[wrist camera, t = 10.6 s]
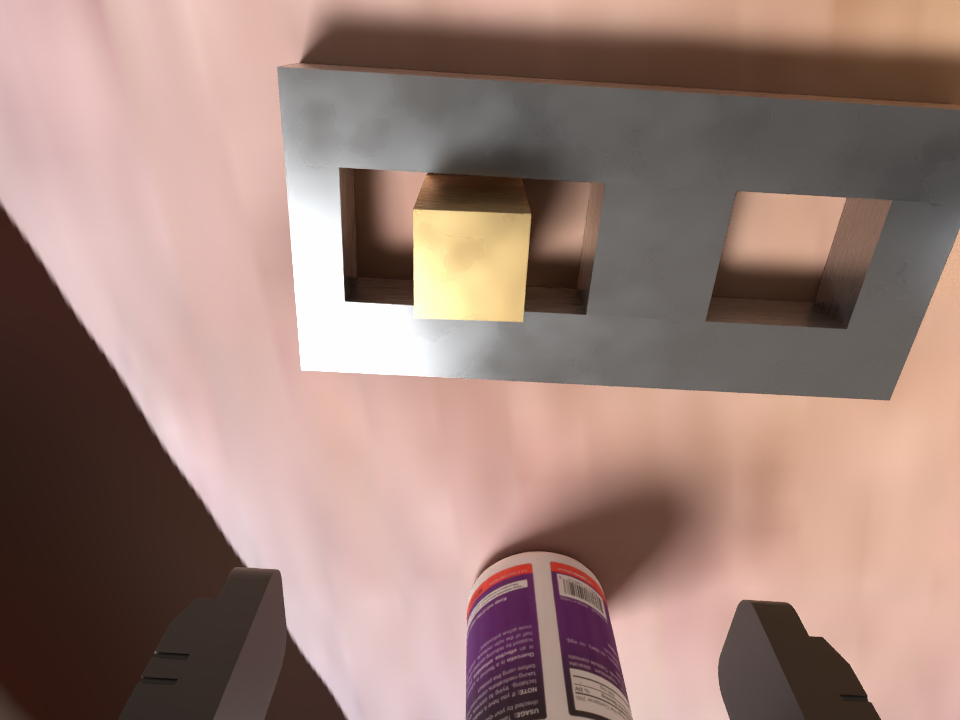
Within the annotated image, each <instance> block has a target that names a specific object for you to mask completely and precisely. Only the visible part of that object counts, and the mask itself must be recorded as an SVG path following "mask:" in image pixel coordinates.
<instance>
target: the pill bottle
mask: <svg viewBox="0 0 960 720" xmlns="http://www.w3.org/2000/svg"><path fill="white" fill-rule="evenodd" d="M466 720H633V718H632V714H631V710H630V705H629V701H628V696H627V692H626V688H625V683H624V679H623V674H622V670H621V666H620V661H619V657H618V652H617V648H616V643H615V639H614V635H613V630H612V626H611V622H610V617H609V613H608V608H607V603H606V600H605V596H604V592H603V590H602V587H601V585H600V583H599V581H598V580H597V578H596V577H595V575H594V574H593V573H592V572H591V571H590V570H589V569H588V568H586V567H585V566H584V565H583V564H581V563H580V562H578V561H576V560H575V559H573V558H570V557H568V556H565V555H561V554H557V553H552V552H540V551H537V552H525V553H520V554H516V555H512V556H509V557H507V558H504V559H502V560H500V561H498V562H496V563H495V564H493V565H492V566H490V567H489V568H488V569H486V570H485V571H484V572H483V573H482V574H481V575H480V576H479V578H478V579H477V580H476V582H475V583H474V585H473V587H472V589H471V592H470V595H469V598H468V605H467V660H466Z"/></svg>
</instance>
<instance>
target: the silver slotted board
mask: <svg viewBox="0 0 960 720" xmlns="http://www.w3.org/2000/svg"><path fill="white" fill-rule="evenodd" d="M277 70H278V83H279V95H280V108H281V120H282V133H283V146H284V158H285V171H286V183H287V196H288V208H289V221H290V233H291V246H292V258H293V271H294V283H295V296H296V309H297V321H298V334H299V346H300V359H301V370H313V371H332V372H351V373H371V374H390V375H409V376H428V377H448V378H467V379H486V380H506V381H525V382H544V383H564V384H583V385H602V386H622V387H641V388H660V389H680V390H699V391H718V392H737V393H757V394H776V395H795V396H815V397H834V398H853V399H873V400H890V398H891V396H892V393H893V391H894V388H895V386H896V384H897V381H898V379H899V376H900V374H901V371H902V369H903V366H904V364H905V361H906V359H907V357H908V354H909V352H910V349H911V347H912V344H913V342H914V339H915V337H916V335H917V332H918V330H919V327H920V325H921V322H922V320H923V317H924V315H925V313H926V310H927V308H928V305H929V303H930V300H931V298H932V295H933V293H934V291H935V288H936V286H937V283H938V281H939V278H940V276H941V273H942V271H943V269H944V266H945V264H946V261H947V259H948V256H949V254H950V251H951V249H952V247H953V244H954V242H955V239H956V237H957V234H958V232H959V229H960V105H953V104H939V103H923V102H908V101H892V100H876V99H860V98H844V97H829V96H813V95H797V94H781V93H765V92H750V91H734V90H718V89H702V88H686V87H671V86H655V85H639V84H623V83H608V82H592V81H576V80H560V79H544V78H529V77H513V76H497V75H481V74H465V73H450V72H434V71H418V70H402V69H387V68H371V67H355V66H339V65H323V64H308V63H296V64H290V65H284V66H279V67H277ZM354 168H359V169H376V170H393V171H410V172H426V173H443V174H460V175H477V176H494V177H511V178H527V179H544V180H561V181H578V182H591V187H590V194H589V202H588V209H587V216H586V224H585V231H584V239H583V246H582V253H581V261H580V268H579V276H578V283H577V289H566V288H548V287H530V286H526V290H525V303H524V316H523V322H506V321H479V320H452V319H425V318H414V280H404V279H386V278H368V277H357V253H356V222H355V191H354ZM736 191H746V192H763V193H779V194H796V195H813V196H830V197H847V200H846V203H845V206H844V209H843V213H842V216H841V219H840V222H839V225H838V228H837V231H836V234H835V238H834V241H833V244H832V247H831V250H830V253H829V256H828V260H827V263H826V266H825V269H824V272H823V275H822V278H821V281H820V285H819V288H818V291H817V294H816V297H815V300H814V302H801V301H783V300H765V299H747V298H729V297H711V296H712V292H713V287H714V283H715V279H716V275H717V271H718V267H719V262H720V258H721V254H722V250H723V246H724V242H725V237H726V233H727V229H728V225H729V221H730V216H731V212H732V208H733V204H734V200H735V196H736Z"/></svg>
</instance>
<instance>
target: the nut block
mask: <svg viewBox="0 0 960 720" xmlns="http://www.w3.org/2000/svg"><path fill="white" fill-rule="evenodd" d="M530 225H531V211H530V207H529V204H528V200H527V196H526V193H525V189H524V185H523V182H522V178H505V177H480V176H456V175H431V174H427V175H426V178H425V180H424V183H423V185H422V188H421V190H420V193H419V196H418V198H417V201H416V203H415V206H414V209H413V243H414V318H425V319H452V320H479V321H506V322H523V316H524V303H525V290H526V277H527V264H528V251H529V238H530Z"/></svg>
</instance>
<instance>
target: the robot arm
mask: <svg viewBox="0 0 960 720" xmlns="http://www.w3.org/2000/svg"><path fill="white" fill-rule="evenodd" d="M286 637H287V628H286V618H285V608H284V598H283V588H282V578H281V573H280V571H279V570H276V569H259V568H242V567H235V568H233V569H232V570H231V572H230V573H229V575H228V577H227V579H226V581H225V583H224V585H223V587H222V589H221V591H220V593H219V595H218V597H217V599H212V598H196V599H195V600H194V601H193V602H192V603H191V604H190V605H189V606H187V607H186V608H185V609H184V610H183V611H182V612H181V613H180V614H179V615H178V616H177V617H176V618H175V619H174V620H173V621H172V622H171V623H170V625H169V626H168V628H167V630H166V632H165V634H164V636H163V637H162V639H161V641H160V643H159V645H158V646H157V648H156V650H155V655H154V657H153V658H151V659H150V661H149V663H148V665H147V667H146V668H145V671H144V673H143V674H142V676H141V681H140V683H137V685H136V687H135V689H134V691H133V692H132V694H131V696H130V698H129V700H128V702H127V703H126V705H125V707H124V709H123V711H122V713H121V714H120V716H119V718H118V720H264V719H265V716H266V712H267V709H268V706H269V703H270V700H271V697H272V694H273V691H274V688H275V685H276V682H277V679H278V676H279V673H280V670H281V667H282V663H283V658H284V654H285V648H286ZM718 677H719V685H720V690H721V694H722V698H723V701H724V704H725V706H726V709H727V712H728V715H729V718H730V720H881V719H880V717H879V715H878V713H877V712H876V710H875V708H874V706H873V705H872V703H871V702H868V699H867V694H866V692H865V691H864V689H863V687H862V685H861V684H860V682H859V680H858V678H857V676H856V675H855V673H854V671H853V669H852V668H851V666H850V664H849V663H848V662H847V661H846V660H845V659H844V658H843V657H842V656H841V655H840V654H839V653H838V652H837V651H836V650H835V649H834V648H833V647H832V646H831V645H830V644H829V643H828V642H827V641H826V640H825V639H824V638H823V637H811V636H809V635H808V633H807V631H806V629H805V628H804V626H803V624H802V622H801V620H800V618H799V616H798V614H797V613H796V611H795V609H794V608H793V607H792V606H791V605H790V604H789V603H786V602H771V601H755V600H742V601H741V602H740V603H739V605H738V607H737V609H736V612H735V615H734V618H733V621H732V624H731V626H730V629H729V632H728V635H727V638H726V641H725V643H724V646H723V649H722V652H721V655H720V658H719V665H718Z"/></svg>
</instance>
